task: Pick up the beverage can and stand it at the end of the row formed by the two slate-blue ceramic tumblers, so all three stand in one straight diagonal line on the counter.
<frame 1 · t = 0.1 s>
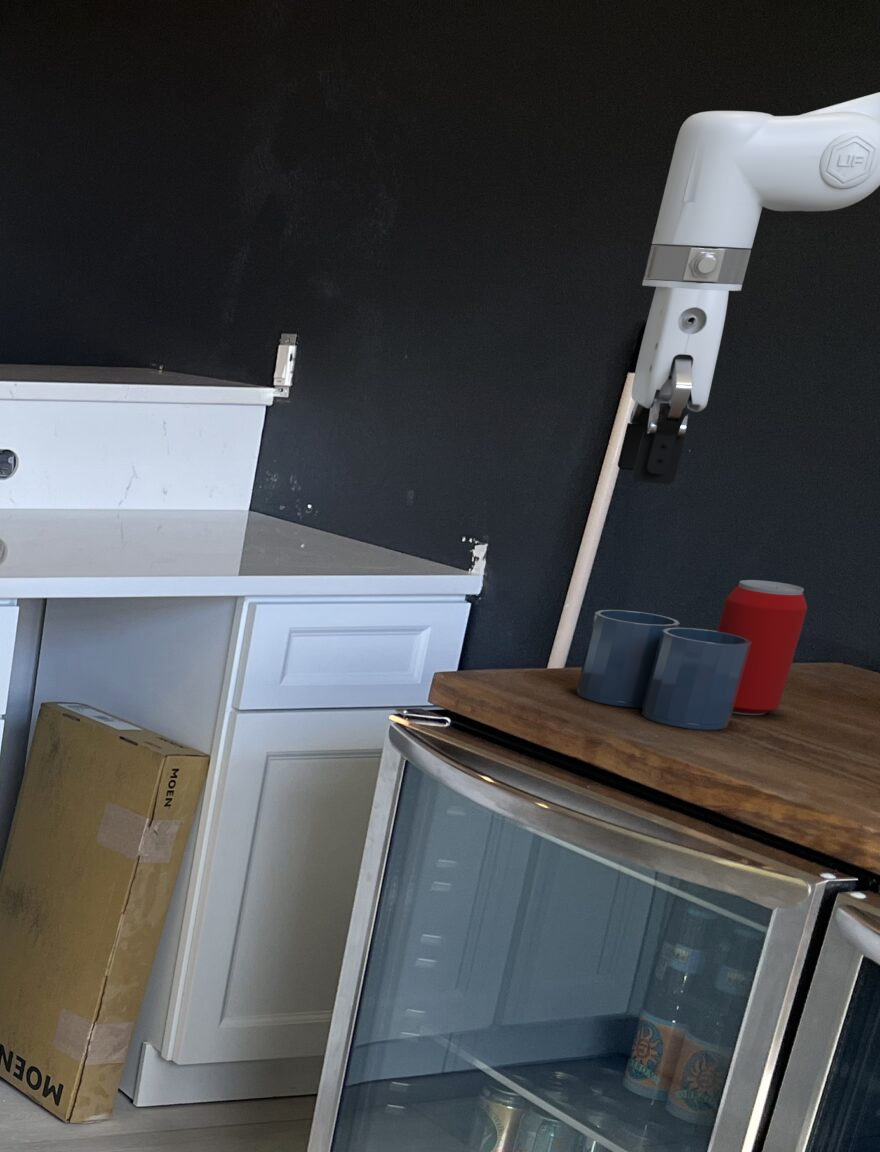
hand: (644, 475, 166), 22 cm above the worktop, tool pointing down, fingers open, 9 cm apart
tumbler far: (616, 698, 184), on the worktop
tumbler mid: (684, 720, 177), on the worktop
beverage can: (736, 710, 182), on the worktop
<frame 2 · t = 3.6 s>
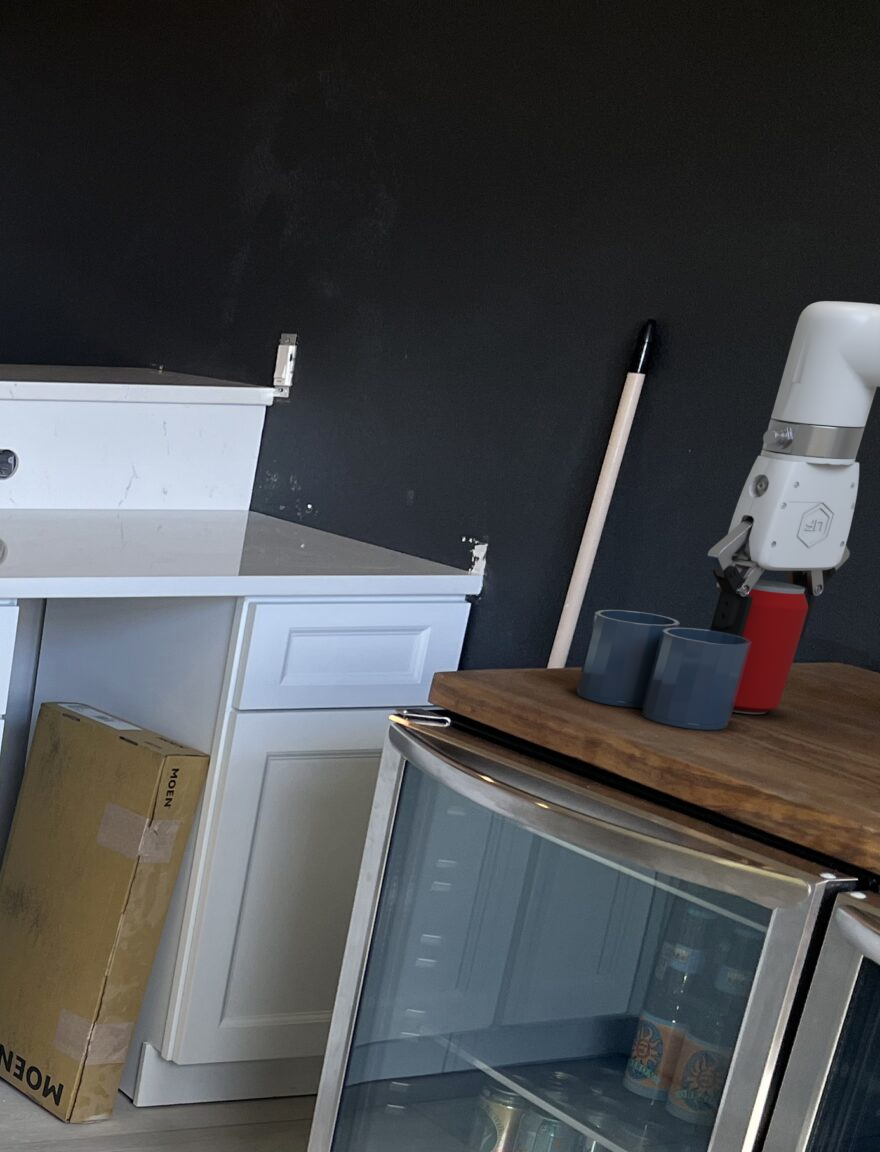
hand: (756, 633, 179), 7 cm above the worktop, tool pointing down, fingers closed on beverage can, 6 cm apart
beverage can: (736, 710, 182), on the worktop, touching gripper
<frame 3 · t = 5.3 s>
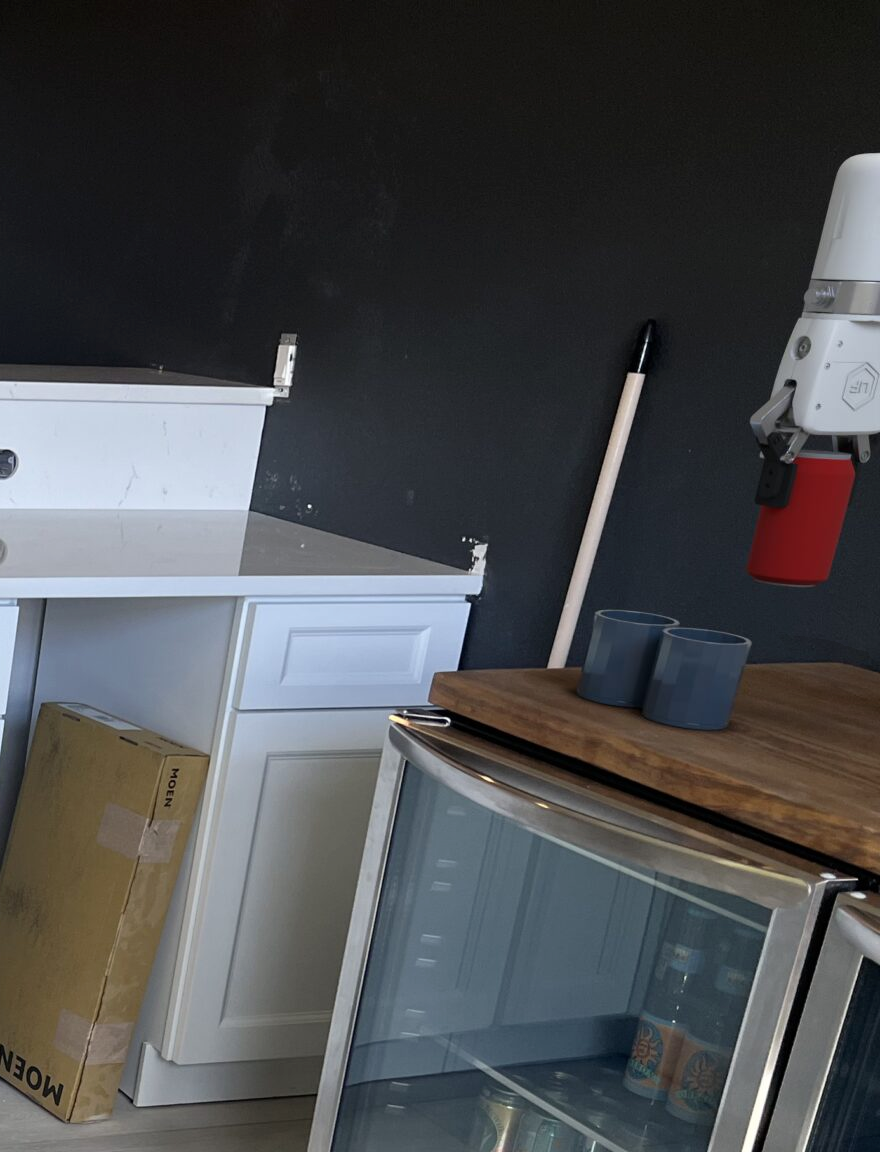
hand: (802, 503, 175), 20 cm above the worktop, tool pointing down, fingers closed on beverage can, 6 cm apart
beverage can: (783, 585, 177), point 12 cm above the worktop, touching gripper
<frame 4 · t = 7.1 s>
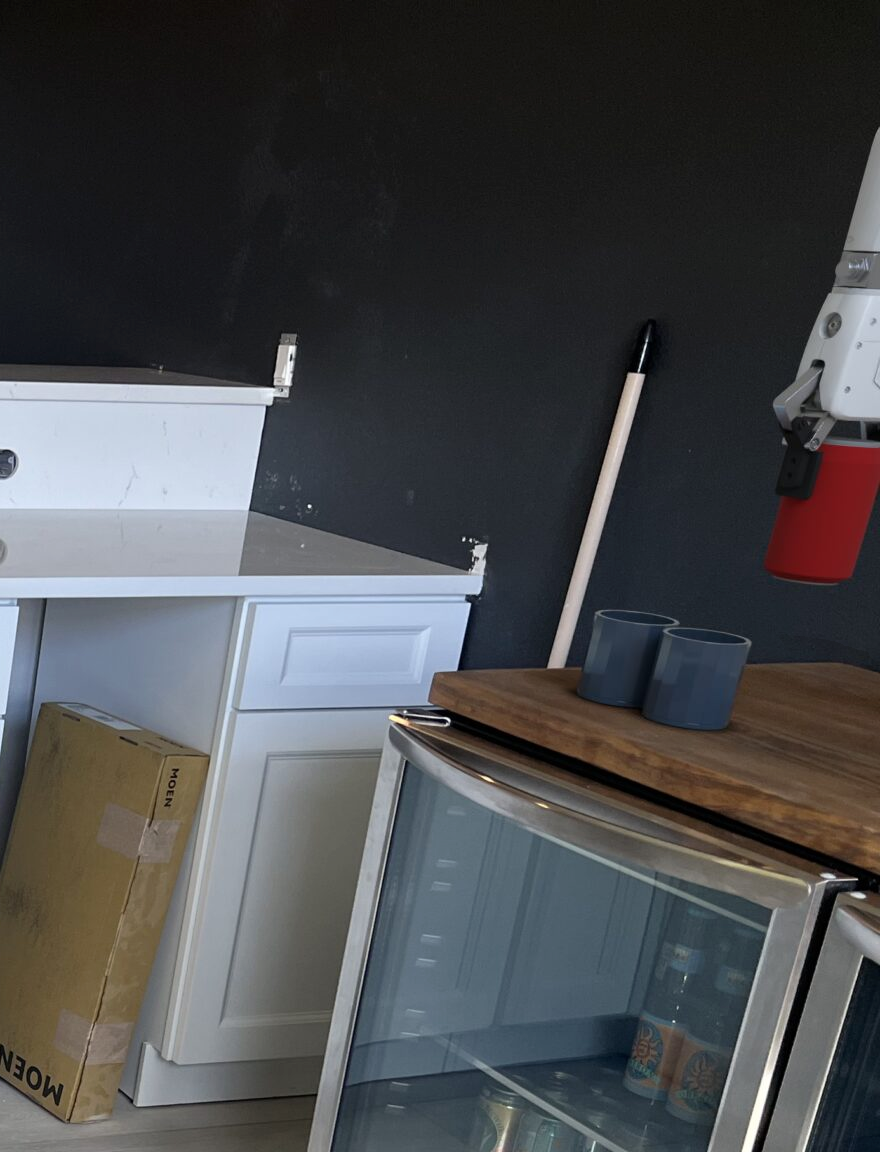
hand: (826, 495, 162), 22 cm above the worktop, tool pointing down, fingers closed on beverage can, 6 cm apart
beverage can: (803, 582, 164), point 14 cm above the worktop, touching gripper
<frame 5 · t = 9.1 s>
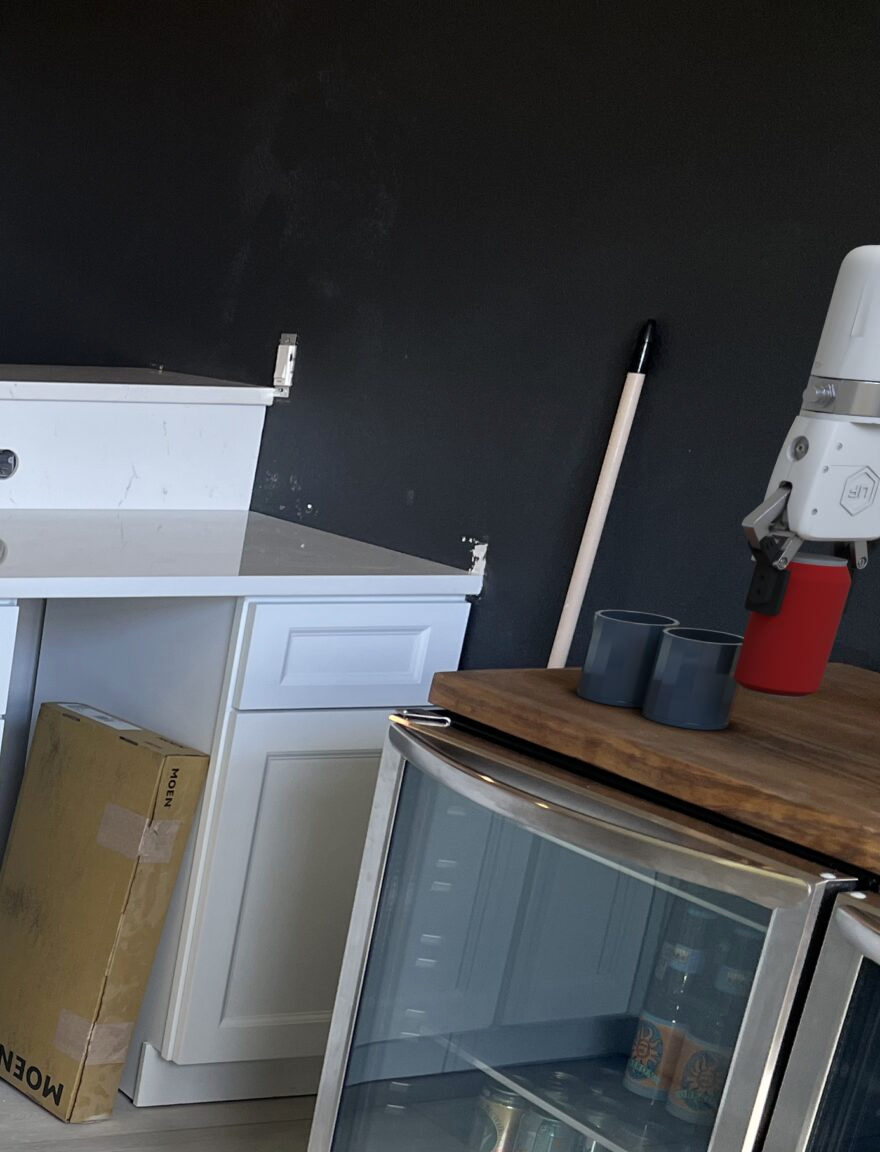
hand: (794, 610, 165), 12 cm above the worktop, tool pointing down, fingers closed on beverage can, 6 cm apart
beverage can: (772, 694, 167), point 5 cm above the worktop, touching gripper
when the fingers open (7 cm above the worktop, at t = 10.8 s): beverage can stays where it is, on the worktop.
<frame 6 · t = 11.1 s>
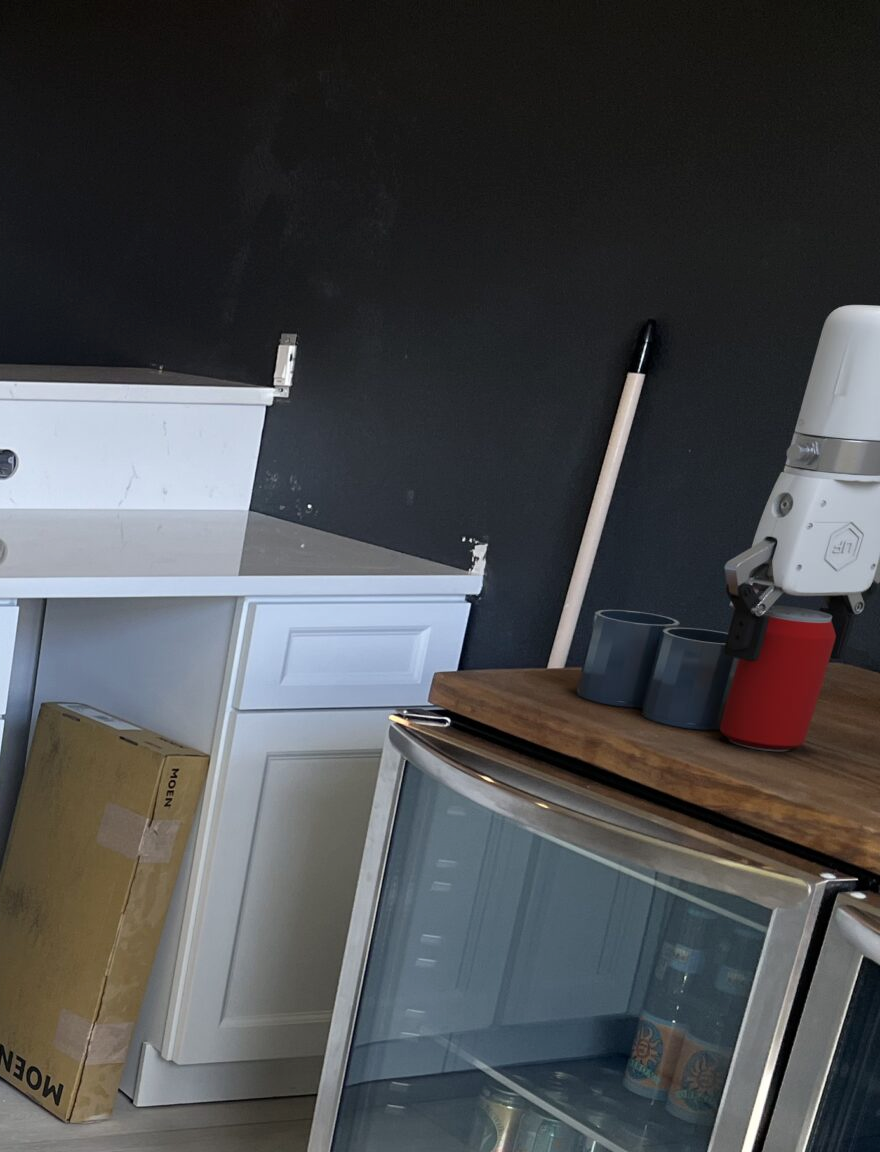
hand: (782, 656, 166), 8 cm above the worktop, tool pointing down, fingers open, 9 cm apart
beverage can: (758, 746, 169), on the worktop
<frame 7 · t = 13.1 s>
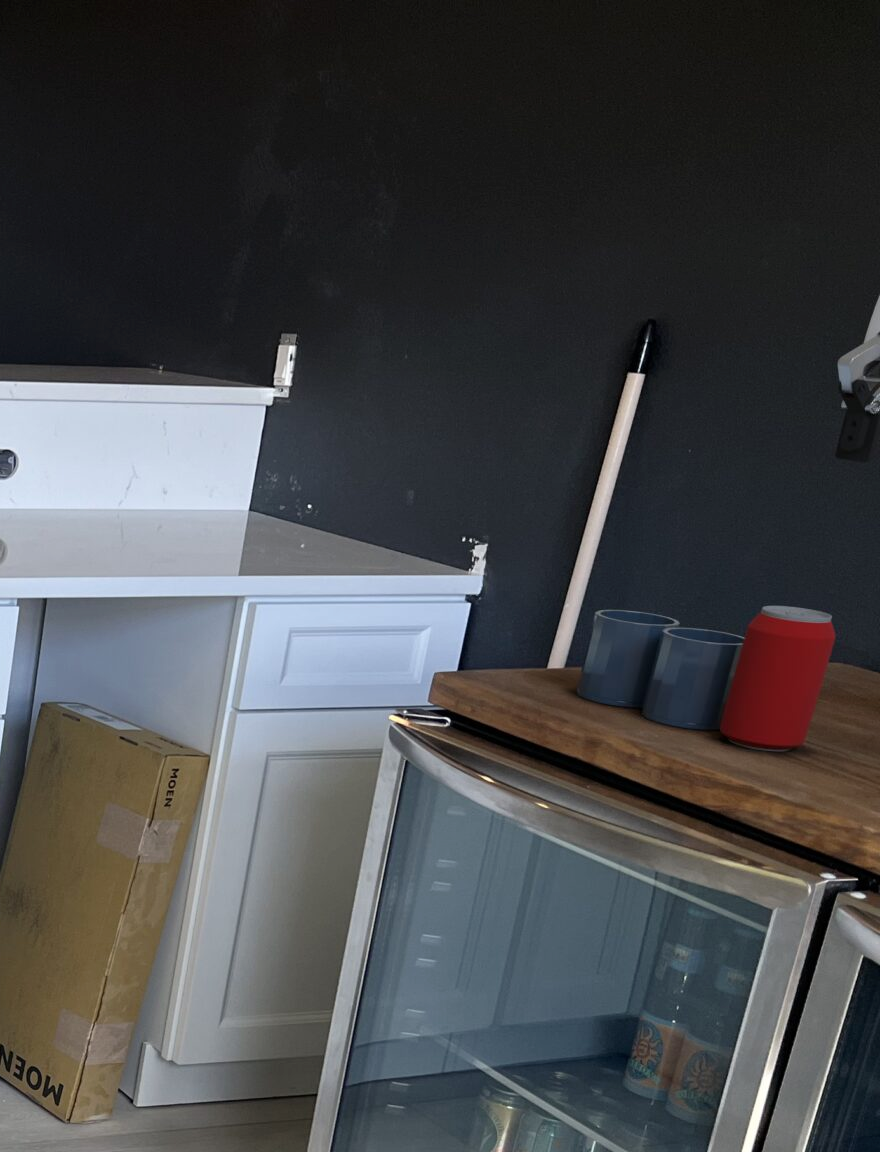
nothing on the worktop moved.
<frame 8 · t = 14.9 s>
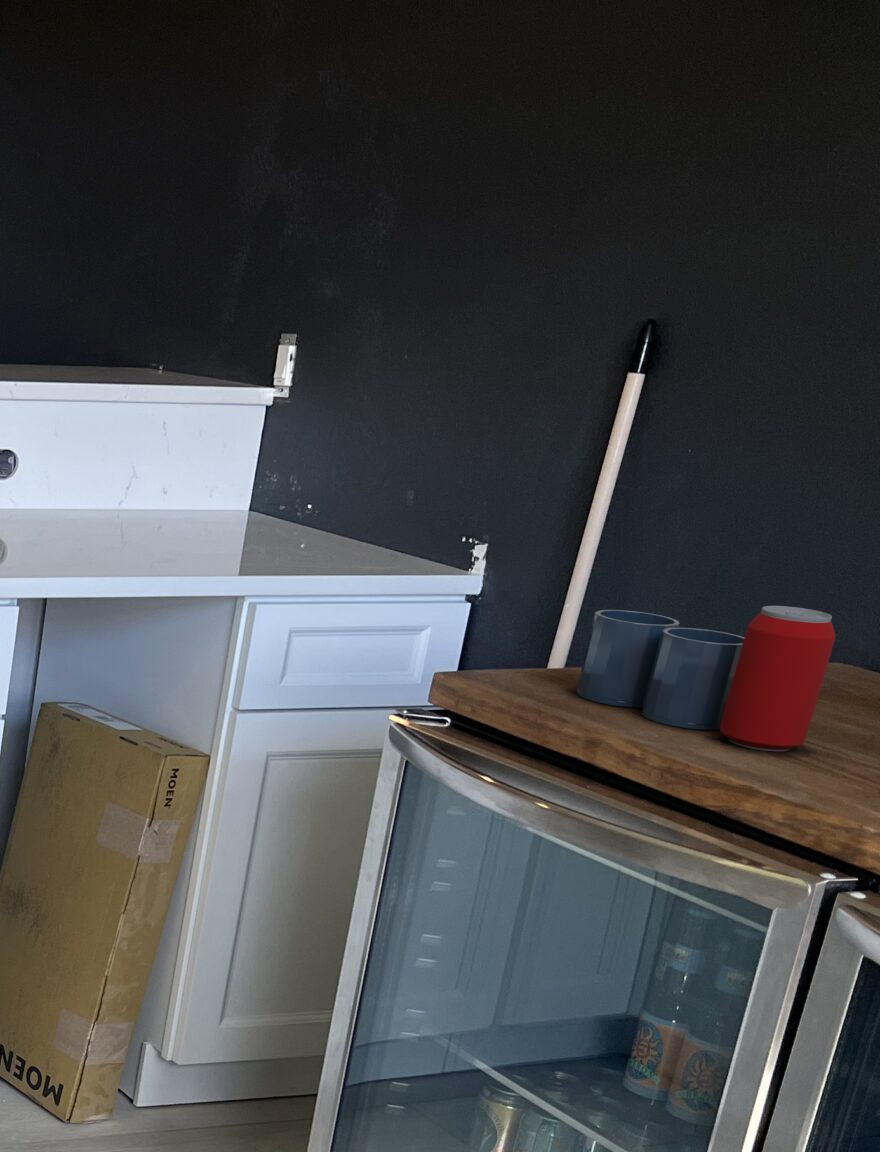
nothing on the worktop moved.
at the end: beverage can 0.3 cm from the target spot, on the worktop; beverage can tilted 0° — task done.
